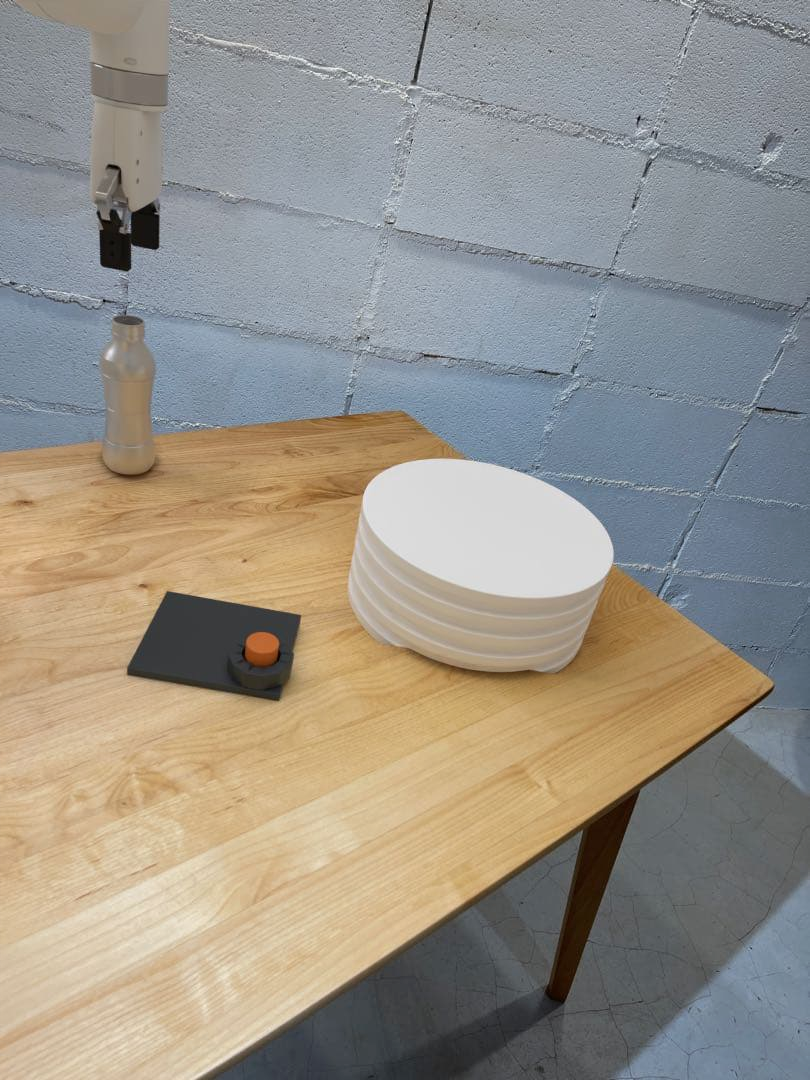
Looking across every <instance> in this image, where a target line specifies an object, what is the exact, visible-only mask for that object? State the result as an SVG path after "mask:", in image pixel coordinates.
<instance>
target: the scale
mask: <svg viewBox="0 0 810 1080" xmlns="http://www.w3.org/2000/svg"><path fill="white" fill-rule="evenodd" d="M301 621H302V614H299V613H293V612H287V611H281V610H276V609H270V608H265V607H260V606H254V605H248V604H242V603H237V602H232V601H226V600H220V599H219V600H218V599H214V598H209V597H204V596H199V595H192V594H186V593H181V592H176V591H171V590H166V592H165V593H164V595H163V598H162V599H161V601H160V604H159V606H158V608H157V609H156V611H155V614H154V615H153V617H152V619H151V620H150V623H149V625H148V626H147V629H146V631H145V633H144V634H143V637H142V638H141V640H140V643H139V644H138V646H137V647H136V651H135V652H134V653H133V656H132V658H131V660H130V661H129V663H128V665H127V667H126V676H131V677H138V678H143V679H148V680H154V681H160V682H164V683H165V682H166V683H171V684H176V685H184V686H189V687H195V688H200V689H206V690H211V691H217V692H223V693H228V694H235V695H241V696H246V697H251V698H257V699H263V700H270V701H275V702H280V700H281V697H282V694H283V688H284V686H285V683H286V682H287V681H288V680H289V679H290V677H291V674H292V670H293V666H294V658H295V653H294V647H295V644H296V640H297V636H298V631H299V630H300V626H301ZM257 632H266V633H270V634H272V635H274V636H275V637H276V638H277V639H278V641H279V649H278V657H277V660H276V662H275V663H274V664H272V665H271V666H266V667H259V666H253V665H251V664H250V663H248V662H247V660H246V658H245V649H246V641H247V638H248V637H249V636H250V635H252V634H254V633H257Z"/></svg>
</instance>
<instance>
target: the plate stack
mask: <svg viewBox="0 0 810 1080" xmlns="http://www.w3.org/2000/svg"><path fill="white" fill-rule="evenodd" d="M360 506H361V507H360V513H359V517H358V523H357V532H356V535H355V539H354V544H353V552H352V556H351V562H350V568H349V573H348V579H347V586H346V589H347V590H346V592H347V598H348V602H349V605H350V607H351V610H352V612H353V614H354V616H355V618H356V620H357V621H358V622H359V624H360V625H361V627H362V628H363V629H364V630H365V632H367V633H368V634H369V636H370V637H372V639H374V641H376V642H377V643H379V644H383V645H390V646H394V647H395V646H396V647H401V648H406V649H410V650H411V651H413V652H416V653H418V654H420V655H423V656H425V657H427V658H429V659H432V660H435V661H437V662H440V663H443V664H446V665H450V666H453V667H458V668H461V669H467V670H473V671H478V672H479V671H480V672H488V673H489V672H490V673H507V672H508V673H510V672H521V671H528V670H529V671H534V672H539V673H547V674H552V675H555V674H557V673H558V672H560V671H562V670H563V669H564V668H565V667H567V666H568V665H570V663H571V662H572V661H573V660H574V659H575V657H576V656H577V655H578V653H579V651H580V648H581V646H582V644H583V641H584V638H585V635H586V632H587V631H588V628H589V626H590V623H591V621H592V617H593V615H594V612H595V610H596V607H597V605H598V602H599V598H600V596H601V594H602V592H603V590H604V587H605V584H606V580H607V578H608V576H609V574H610V571H611V569H612V566H613V563H614V555H615V553H614V552H615V551H614V546H613V542H612V540H611V537H610V535H609V533H608V531H607V529H606V528H605V526H604V525H603V524H602V523H601V521H600V520H599V518H597V517H596V515H594V513H592V512H591V511H590V510H589V508H587V507H586V506H585V505H583V504H582V503H581V502H579V500H577V499H575V498H574V497H572V496H571V495H569V494H567V493H566V492H564V491H562V490H561V489H559V488H557V487H556V486H554V485H552V484H550V483H548V482H545V481H543V480H541V479H539V478H537V477H534V476H532V475H529V474H526V473H523V472H521V471H518V470H514V469H511V468H508V467H504V466H500V465H497V464H493V463H488V462H483V461H482V462H481V461H476V460H469V459H462V458H461V459H459V458H425V459H418V460H412V461H406V462H402V463H399V464H396V465H394V466H391V467H389V468H387V469H385V470H383V471H381V472H380V473H379V474H376V475H375V477H373V478H372V479H371V481H370V482H369V483H368V484H367V486H366V488H365V490H364V492H363V496H362V500H361V505H360Z"/></svg>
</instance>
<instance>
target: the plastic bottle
mask: <svg viewBox="0 0 810 1080" xmlns="http://www.w3.org/2000/svg"><path fill="white" fill-rule="evenodd" d="M145 330H146V323H145V320H144V319H143V318H141V317H139V316H135V315H130V314H119V315H118V314H117V315H115V316H112V318H111V328H110V335H111V336H112V339H111V340H110V341H109V342H108V343H107V344H105V345H106V346H105V347H104V348H103V349H102V351H101V353H100V357H99V369H100V374H101V379H102V380H101V381H102V385H103V391H104V392H103V393H104V401H105V419H104V433H103V437H102V441H101V448H100V451H101V455H102V459H103V463H104V464H105V465H106V467H108V469H109V470H111V471H112V472H114V473H117V474H121V475H128V476H131V475H132V476H134V475H141V474H144V473H146V472H148V471H149V470H150V469H151V468H152V467H153V466H154V463H155V460H156V459H155V458H156V454H157V451H156V443H155V439H154V436H153V425H152V399H153V388H154V382H155V378H156V377H155V376H156V371H157V363H156V360H155V357H154V354H153V353H152V351H151V350H150V348H149V346H148V345H147V344H146V342H145V341H144V339H146V331H145Z"/></svg>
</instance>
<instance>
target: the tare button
mask: <svg viewBox="0 0 810 1080" xmlns="http://www.w3.org/2000/svg"><path fill="white" fill-rule="evenodd" d="M278 649H279V641H278V639H277V638H276V637H275V636H274V635H272V634H270V633H266V632H257V633H254V634H252V635H250V636H249V637H248V638H247V641H246V649H245V658H246V660H247V662H248V663H250V664H251V665H253V666H259V667H266V666H271V665H272V664H274V663H275V662H276V660H277V657H278Z"/></svg>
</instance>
